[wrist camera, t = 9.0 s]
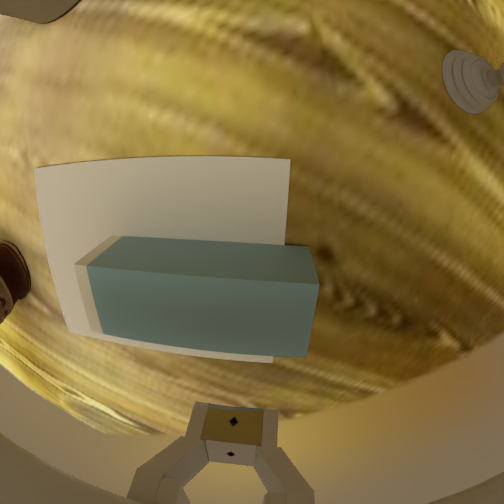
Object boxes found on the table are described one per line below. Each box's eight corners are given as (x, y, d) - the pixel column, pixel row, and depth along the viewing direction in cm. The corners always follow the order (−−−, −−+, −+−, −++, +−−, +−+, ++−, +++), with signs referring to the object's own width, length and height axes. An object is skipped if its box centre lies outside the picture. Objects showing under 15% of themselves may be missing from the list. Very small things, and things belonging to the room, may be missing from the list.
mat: (289, 158, 17) (290, 159, 17) (272, 358, 24) (272, 363, 23) (38, 167, 18) (33, 168, 18) (72, 328, 25) (69, 331, 24)
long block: (319, 284, 14) (73, 264, 15) (306, 357, 16) (91, 331, 17) (309, 246, 19) (111, 235, 20) (300, 310, 21) (121, 294, 22)
